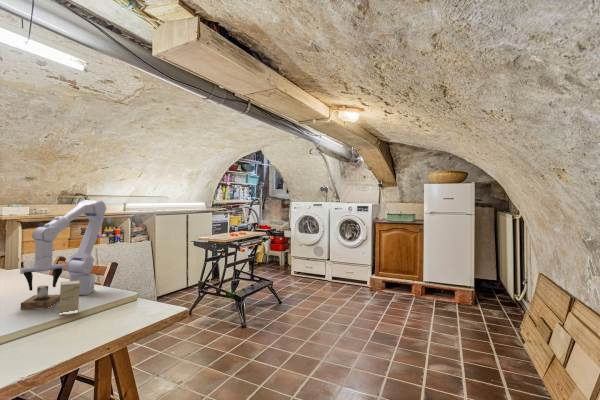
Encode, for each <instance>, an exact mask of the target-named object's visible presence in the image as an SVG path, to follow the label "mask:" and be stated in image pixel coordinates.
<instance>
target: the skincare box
mask: <svg viewBox="0 0 600 400" xmlns="http://www.w3.org/2000/svg"><path fill="white" fill-rule="evenodd" d="M79 288H80V281H70V280H68V281H61V282H60V292H59V295H60V301H59V308H58V314H59V313H63V312H69V311H75V310H78V311H79V303H80V302H79V301H80V300H79V299H80V295H79Z"/></svg>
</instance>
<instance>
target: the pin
mask: <svg viewBox="0 0 600 400" xmlns="http://www.w3.org/2000/svg"><path fill="white" fill-rule="evenodd" d="M36 295H37V301H43V300H47V299H48V295H49V285H39V286H37V288H36Z"/></svg>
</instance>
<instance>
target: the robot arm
mask: <svg viewBox="0 0 600 400" xmlns="http://www.w3.org/2000/svg"><path fill="white" fill-rule="evenodd" d="M106 211H107V206H106V203H105V202H104V201H102V200H91V199H83V200H81V201H80V202H78V203H77V205H76V206H75V207H73V208H72V209H71V210H69V211H68V212H67V213H66V214H64V215H63V216H62V215H61V216H60V215H59V216H55V217H53V219H52V220H51V221H49V222H48V223H45V224H44V225H43V226H38V227H36V228H35V229H34V230H33V232H32V233H31V238H32V239H33V240H34V242H33V243H34V245H35V246H34V266H33V265H32V266H29V267H21V268H20V269H19V273H20V275H23V276H24V277H25V279H26V281H27V284H28V289H29V291H33V277H34V275H33V273H38V272H39V273H40V272H46V271H52V275H53V276H52V288H56V287H57V283H58V280H59V278H60V277H61V274H62V273H63V270H66V271H67V272H68V275H69V281H80V288H79V296H89V295H90V294H91V293H93V292H94V291H95V274H94V273H91V271H93V267H94V261H95V259H94V257H93V256H92V251H93V250H94V246H95V243H96V242H97V239H98V236H99V233H100V230H101V227H102V225H103V222H104V218H105V213H106ZM82 215H84V216H85V217H86V218H87V219H88V223H87V226H86V228H85V232H84V234H83V237H82V239H81V242H80V245H79V247H78V250H77V252H76V253H74V254H72V255H71V257H70V259H69V260H68V261H67V263H66V264H65V263H59V264H58V263H57V264H54V263H53V251H54V249H53V247H54V241H55V240H56V239H57V237H58V235H59V234H60V233H61V232H62V231H64V230H65V229H67V228H69V226H70V222H72V221H73V220H75V219H77V218H79V217H80V216H82Z"/></svg>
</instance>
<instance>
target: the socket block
mask: <svg viewBox="0 0 600 400" xmlns="http://www.w3.org/2000/svg"><path fill="white" fill-rule="evenodd" d="M57 302H58V303H60V294H48V299H47V300H43V301H37V294H34V295H33V296H30V297H29V298H27V299H25V300H24V301H22V302H20V310H35V309H34V308H46V309H49V308H48V307H51V306H52V307H54V306H55V305H57V304H58V303H57ZM56 303H57V304H56ZM54 304H55V305H54ZM53 305H54V306H53ZM52 307H51V308H52Z"/></svg>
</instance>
